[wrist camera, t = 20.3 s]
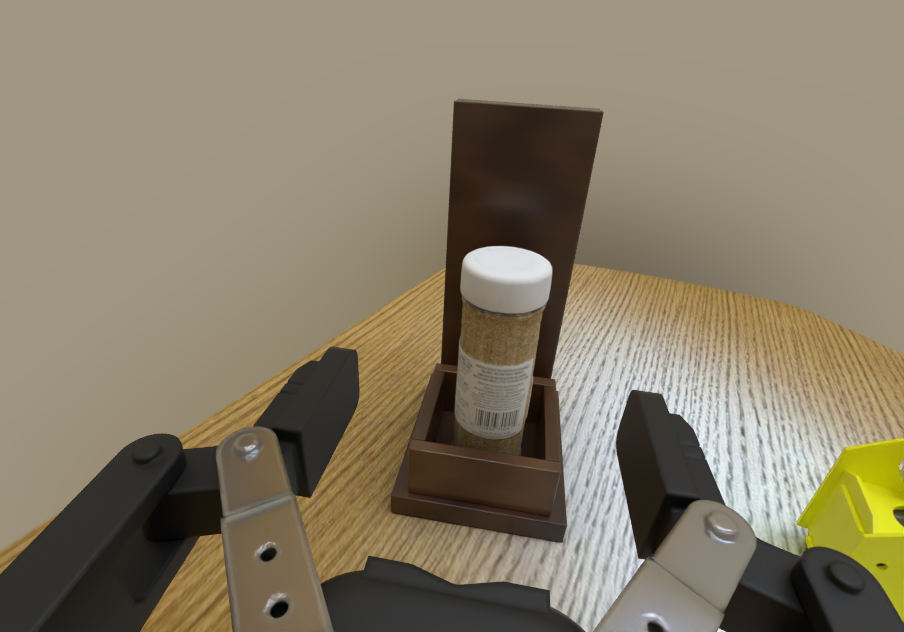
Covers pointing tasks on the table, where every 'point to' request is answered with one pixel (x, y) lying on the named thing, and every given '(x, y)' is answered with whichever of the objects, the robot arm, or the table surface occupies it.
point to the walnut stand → (555, 238)
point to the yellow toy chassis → (864, 513)
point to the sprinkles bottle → (498, 345)
